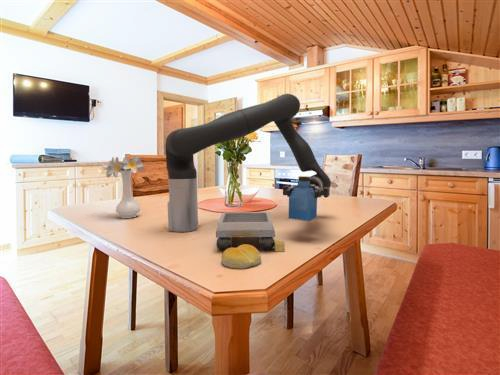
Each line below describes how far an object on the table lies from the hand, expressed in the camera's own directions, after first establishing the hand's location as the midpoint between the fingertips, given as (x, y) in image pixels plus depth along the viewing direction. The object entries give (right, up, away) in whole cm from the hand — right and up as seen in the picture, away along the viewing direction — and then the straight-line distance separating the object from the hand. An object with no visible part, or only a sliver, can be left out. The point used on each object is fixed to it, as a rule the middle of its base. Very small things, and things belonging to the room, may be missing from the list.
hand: (302, 193), depth 81 cm
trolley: (-15, -14, 0) cm, 20 cm away
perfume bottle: (+1, -7, +3) cm, 8 cm away
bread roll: (-17, -16, -14) cm, 27 cm away
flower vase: (-65, -11, +36) cm, 75 cm away
